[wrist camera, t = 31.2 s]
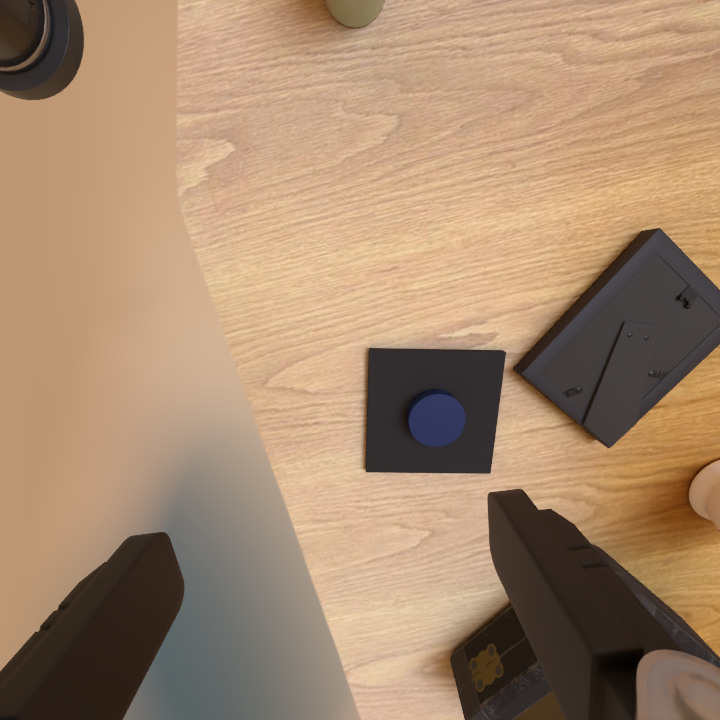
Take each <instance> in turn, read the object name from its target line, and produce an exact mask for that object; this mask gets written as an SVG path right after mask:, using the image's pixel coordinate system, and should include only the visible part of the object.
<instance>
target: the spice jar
mask: <svg viewBox="0 0 720 720" xmlns="http://www.w3.org/2000/svg"><path fill="white" fill-rule="evenodd" d="M384 2H385V0H325V3H326V6H327V8H328V10H329V12H330V13H331V15H332V16H333V17H334V18H335V19H336V20H337V21H338V22H339V23H341V24H343V25H345V26H348V27H353V28H358V27H363V26H365V25H367V24H369V23H371V22H372V21H373V20H374V19H375V18H376V17H377V16H378V15H379V13H380V12H381V10H382V8H383V5H384Z"/></svg>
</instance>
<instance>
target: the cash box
mask: <svg viewBox="0 0 720 720" xmlns="http://www.w3.org/2000/svg"><path fill="white" fill-rule="evenodd" d="M591 547H592V548H595V549H596V551H597V552H598V553H599V554H600V555H601V556H602V557H603V559H604V560H605V561H606V564H607V566H610V567H611V568H612V569H613V570H614V571H615V573H616V574H617V575H618V576H619V577H620V578H621V579H622V581H623V582H624V583H625V584H626V585H627V586H628V588H629V589H630V590H631V591H632V592H633V593H634V595H635V596H636V597H637V598H638V599H639V600H640V602H641V603H642V604H643V605H644V606H645V607H646V608H647V610H648V611H649V612H650V613H651V614H652V615H653V617H654V618H655V619H656V620H657V621H658V622H659V624H660V625H661V626H662V627H663V628H664V629H665V630H666V632H667V633H668V634H669V635H670V636H671V637H672V639H673V640H674V641H675V642H676V643H677V644H678V645H679V646H680V647H681V648H682V649H683V651H684V652H686V653H687V654H690V655H693V656H696V657H698V658H700V659H702V660H705V661H707V662H709V663H711V664H713V665H714V666H716V667H718V668H719V669H720V658H719V656H718V655H717V654H716V653H715V652H714V651H713V650H712V649H711V648H710V647H709V646H708V645H707V644H706V643H705V642H704V641H703V640H702V639H701V638H700V636H699V635H698V634H697V633H696V632H695V631H694V630H693V629H692V628H691V627H690V626H689V625H688V624H687V623H686V622H685V621H684V620H683V619H682V618H681V617H680V616H679V615H678V614H677V613H676V612H674V611H673V610H672V609H671V608H670V607H669V606H667V605H666V604H665V603H664V602H663V601H662V600H660V599H659V598H658V597H657V596H656V595H655V594H653V593H652V592H651V591H650V590H649V589H648V588H646V587H645V586H644V585H643V584H642V583H641V582H639V581H638V580H637V579H636V578H635V577H634V576H632V575H631V574H630V573H629V572H628V571H627V570H625V569H624V568H623V567H622V566H621V565H620V564H618V563H617V562H616V561H615V560H614V559H613V558H611V557H610V556H609V555H608V554H607V553H605V552H604V551H603V550H602V549H601V548H599V547H597V546H593V545H591ZM451 665H452V669H453V673H454V678H455V682H456V686H457V690H458V694H459V698H460V702H461V706H462V710H463V714H464V718H465V720H566V719H565V717H564V715H563V713H562V711H561V709H560V706H559V704H558V702H557V700H556V698H555V696H554V694H553V691H552V689H551V687H550V685H549V683H548V681H547V679H546V677H545V674H544V672H543V670H542V668H541V666H540V664H539V662H538V659H537V657H536V655H535V653H534V651H533V649H532V647H531V645H530V642H529V640H528V638H527V636H526V634H525V632H524V630H523V627H522V625H521V623H520V621H519V619H518V617H517V615H516V613H515V610H514V608H513V606H512V605H510V606H509V607H508V608H507V609H506V610H504V611H503V612H502V613H501V614H499V615H498V616H497V617H496V618H495V619H493V620H492V621H491V622H490V623H488V624H487V625H486V626H485V627H484V628H482V629H481V630H480V631H479V632H477V633H476V634H475V635H474V636H473V637H471V638H470V639H469V640H468V641H466V642H465V643H464V644H463V645H462V646H460V647H459V648H458V649H457V650H456V651H454V653H453V655H452V657H451Z"/></svg>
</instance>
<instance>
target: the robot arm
mask: <svg viewBox="0 0 720 720" xmlns="http://www.w3.org/2000/svg"><path fill="white" fill-rule="evenodd" d="M53 29H54V21H53V12H52V7H51V3H50V0H0V73H4V74H18V73H23V72H26V71H29V70H31V69H32V68H34V67H35V66H37V65H38V64H39V63H40V62H41V61H42V60H43V58H44V57H45V55H46V54H47V52H48V50H49V48H50V45H51V42H52V37H53ZM488 520H489V543H490V551H491V556H492V560H493V563H494V566H495V569H496V572H497V574H498V576H499V578H500V581H501V583H502V585H503V587H504V589H505V591H506V593H507V595H508V598H509V600H510V602H511V604H512V606H513V608H514V610H515V613H516V615H517V617H518V619H519V621H520V623H521V625H522V627H523V630H524V632H525V634H526V636H527V638H528V640H529V642H530V645H531V647H532V649H533V651H534V653H535V655H536V657H537V659H538V662H539V664H540V666H541V668H542V670H543V672H544V674H545V677H546V679H547V681H548V683H549V685H550V687H551V689H552V691H553V694H554V696H555V698H556V700H557V702H558V704H559V706H560V709H561V711H562V713H563V715H564V717H565V719H566V720H720V669H719V668H718V667H716V666H714V665H713V664H711V663H709V662H707V661H705V660H702V659H700V658H698V657H696V656H693V655H690V654H687V653H686V652H684V651H683V649H682V648H681V647H680V646H679V645H678V644H677V643H676V642H675V641H674V640H673V639H672V637H671V636H670V635H669V634H668V633H667V632H666V630H665V629H664V628H663V627H662V626H661V625H660V624H659V622H658V621H657V620H656V619H655V618H654V617H653V615H652V614H651V613H650V612H649V611H648V610H647V608H646V607H645V606H644V605H643V604H642V603H641V602H640V600H639V599H638V598H637V597H636V596H635V595H634V593H633V592H632V591H631V590H630V589H629V588H628V586H627V585H626V584H625V583H624V582H623V581H622V579H621V578H620V577H619V576H618V575H617V574H616V573H615V571H614V570H613V569H612V568H611V567H610V566H607V564H606V561H605V560H604V559H603V557H602V556H601V555H600V554H599V553H598V552H597V551H596V549H595V548H592V547H591V544H590V542H589V541H588V540H587V539H586V538H585V537H584V535H583V534H582V533H581V532H580V531H579V530H578V528H577V527H576V526H575V525H574V524H573V523H571V522H570V521H568V520H567V519H565V518H564V517H562V516H561V515H559V514H558V513H556V512H555V511H553V510H552V509H546V510H538V509H537V507H536V506H535V505H534V503H533V502H532V501H531V500H530V498H529V497H528V496H527V494H526V493H525V492H524V491H523V490H522V489H514V490H506V491H498V492H490V493H489V494H488ZM183 596H184V580H183V577H182V573H181V570H180V567H179V565H178V561H177V559H176V555H175V552H174V549H173V546H172V543H171V541H170V538H169V536H168V535H167V534H166V533H164V532H158V533H150V534H142V535H134V536H130V537H129V538H127V539H126V540H125V541H124V542H123V543H122V544H121V546H120V547H119V548H118V549H117V550H116V551H115V553H114V554H113V555H112V556H111V557H110V559H109V560H108V561H107V562H104V563H103V564H102V565H101V566H99V567H98V568H97V569H96V570H94V571H93V572H92V573H91V574H89V575H88V576H87V577H86V578H84V579H83V580H82V581H81V582H79V583H78V585H77V586H76V587H75V588H74V589H73V590H72V591H71V592H70V594H69V595H68V596H67V597H66V598H65V599H64V600H63V601H62V603H61V604H60V605H59V608H58V610H57V611H54V612H53V613H52V614H51V615H50V616H49V617H48V619H46V621H45V622H44V623H43V624H42V625H41V627H40V630H39V632H35V633H34V634H33V635H32V636H31V638H30V639H29V640H28V641H27V642H26V643H25V644H24V645H23V647H22V648H21V649H20V650H19V651H18V652H17V653H16V654H15V656H14V657H13V658H12V659H11V660H10V661H9V662H8V663H7V665H6V666H5V667H4V668H3V669H2V670H1V671H0V720H123V718H124V716H125V714H126V712H127V710H128V708H129V706H130V704H131V702H132V700H133V698H134V696H135V694H136V693H137V691H138V689H139V687H140V685H141V683H142V681H143V679H144V677H145V675H146V673H147V671H148V670H149V668H150V666H151V664H152V662H153V660H154V658H155V656H156V654H157V652H158V650H159V648H160V646H161V645H162V642H163V641H164V639H165V637H166V635H167V633H168V631H169V629H170V627H171V625H172V623H173V621H174V619H175V618H176V615H177V614H178V612H179V610H180V607H181V605H182V601H183Z"/></svg>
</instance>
